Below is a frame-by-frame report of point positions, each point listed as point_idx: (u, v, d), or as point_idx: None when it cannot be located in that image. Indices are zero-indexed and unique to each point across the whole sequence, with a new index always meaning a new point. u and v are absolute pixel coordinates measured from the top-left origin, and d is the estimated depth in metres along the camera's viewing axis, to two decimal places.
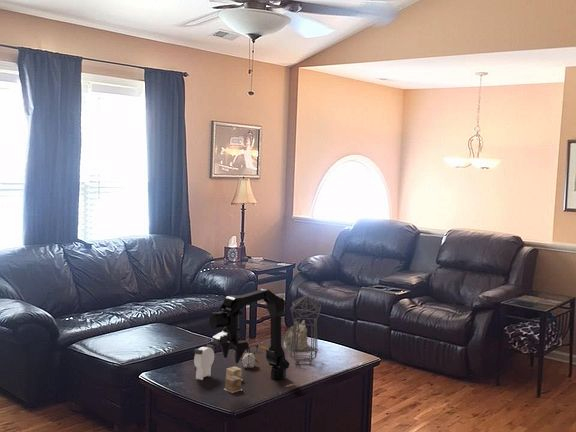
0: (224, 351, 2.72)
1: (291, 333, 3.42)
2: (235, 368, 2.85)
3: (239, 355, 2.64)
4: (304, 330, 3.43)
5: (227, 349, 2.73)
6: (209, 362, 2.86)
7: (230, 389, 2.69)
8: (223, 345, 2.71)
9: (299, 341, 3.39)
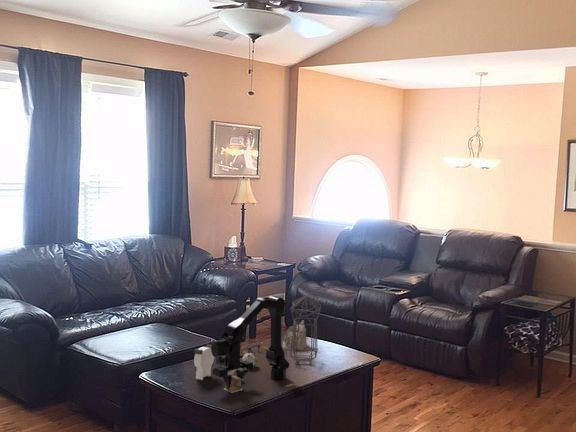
0: None
1: (290, 333, 3.42)
2: None
3: (226, 381, 2.68)
4: (303, 330, 3.44)
5: None
6: (209, 362, 2.86)
7: (230, 389, 2.69)
8: (237, 373, 2.74)
9: (298, 341, 3.39)
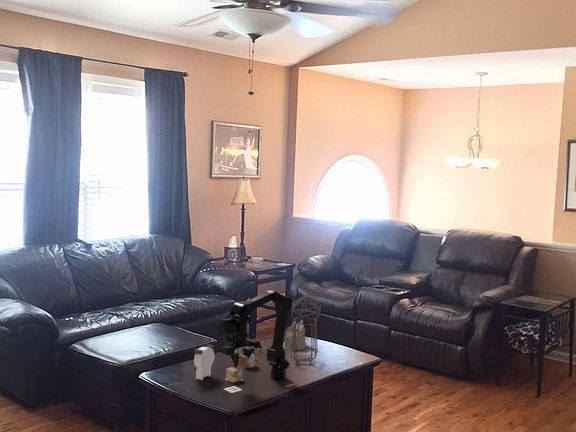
0: None
1: (289, 333, 3.42)
2: None
3: (234, 359, 2.69)
4: (302, 330, 3.44)
5: None
6: (209, 362, 2.86)
7: (237, 367, 2.70)
8: (244, 351, 2.75)
9: None
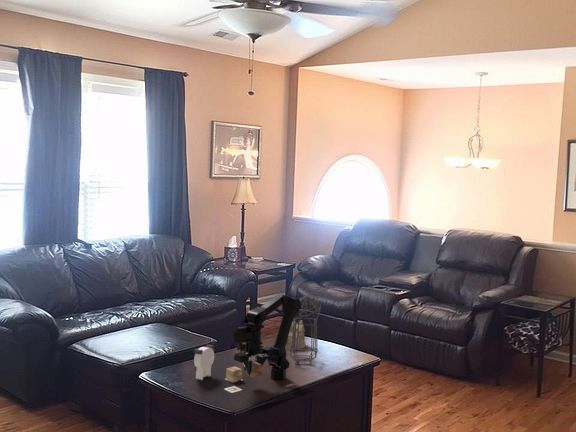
0: None
1: (289, 333, 3.42)
2: (235, 368, 2.85)
3: (247, 367, 2.72)
4: (302, 330, 3.44)
5: None
6: (209, 362, 2.86)
7: (251, 374, 2.72)
8: (257, 359, 2.77)
9: None
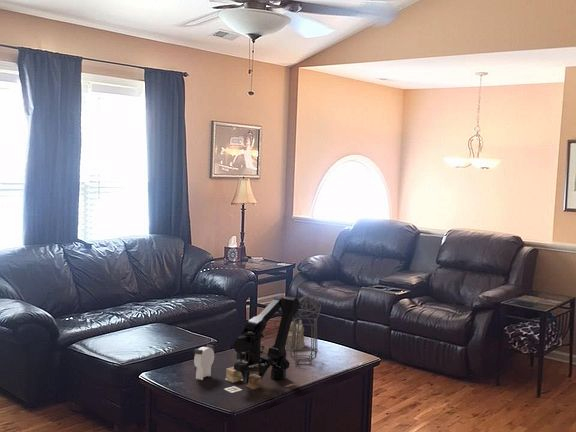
0: (259, 374, 2.78)
1: (288, 333, 3.42)
2: None
3: (245, 377, 2.71)
4: (301, 330, 3.44)
5: (261, 373, 2.77)
6: (209, 362, 2.86)
7: (250, 387, 2.73)
8: (259, 367, 2.79)
9: (296, 341, 3.39)
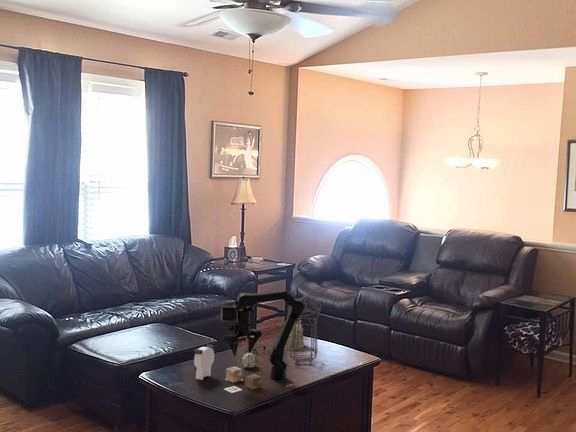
0: (249, 345, 2.87)
1: None
2: (235, 368, 2.85)
3: (233, 348, 2.79)
4: (300, 330, 3.44)
5: (251, 345, 2.86)
6: (209, 362, 2.86)
7: (250, 387, 2.73)
8: (249, 339, 2.87)
9: None
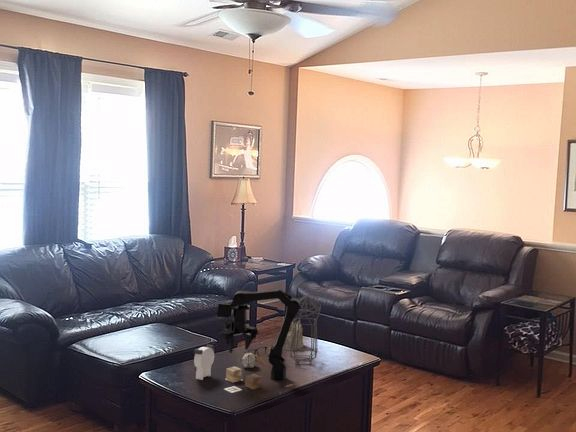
0: (245, 343, 2.91)
1: None
2: (235, 368, 2.85)
3: (229, 345, 2.83)
4: (300, 330, 3.44)
5: (248, 342, 2.90)
6: (209, 362, 2.86)
7: (250, 387, 2.73)
8: (246, 337, 2.91)
9: (295, 341, 3.39)
